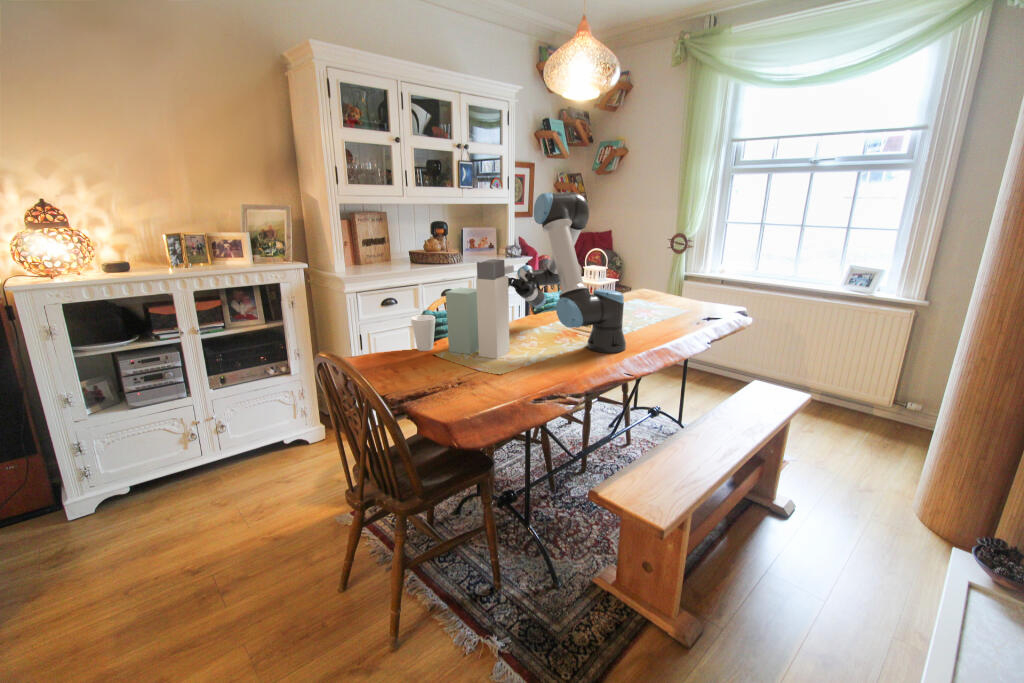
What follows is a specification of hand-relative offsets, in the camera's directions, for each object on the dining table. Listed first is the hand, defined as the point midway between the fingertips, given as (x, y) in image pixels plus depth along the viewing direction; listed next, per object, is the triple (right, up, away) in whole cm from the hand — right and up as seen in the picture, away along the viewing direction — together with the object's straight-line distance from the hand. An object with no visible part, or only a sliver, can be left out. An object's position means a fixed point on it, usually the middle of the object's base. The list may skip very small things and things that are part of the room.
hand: (505, 270), depth 184 cm
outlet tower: (-4, -33, 0) cm, 33 cm away
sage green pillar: (-16, -31, +6) cm, 35 cm away
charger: (-2, -2, -5) cm, 6 cm away
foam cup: (-33, -31, +8) cm, 46 cm away
